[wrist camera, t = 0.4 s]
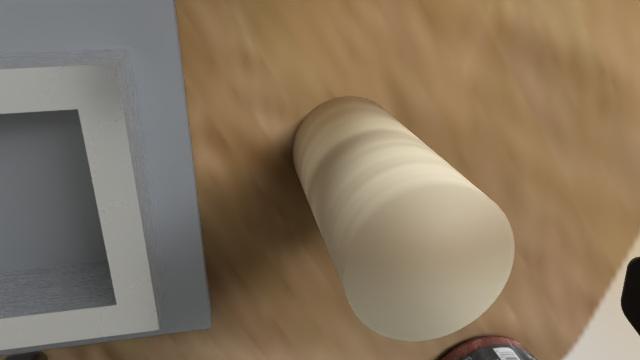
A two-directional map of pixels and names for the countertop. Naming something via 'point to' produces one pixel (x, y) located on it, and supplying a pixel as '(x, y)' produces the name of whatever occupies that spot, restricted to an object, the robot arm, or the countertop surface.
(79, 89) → the socket collar
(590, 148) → the countertop surface
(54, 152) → the socket plate
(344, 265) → the beech peg
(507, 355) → the supplement bottle
